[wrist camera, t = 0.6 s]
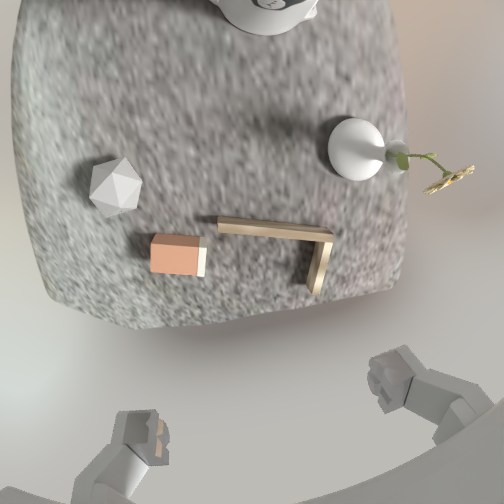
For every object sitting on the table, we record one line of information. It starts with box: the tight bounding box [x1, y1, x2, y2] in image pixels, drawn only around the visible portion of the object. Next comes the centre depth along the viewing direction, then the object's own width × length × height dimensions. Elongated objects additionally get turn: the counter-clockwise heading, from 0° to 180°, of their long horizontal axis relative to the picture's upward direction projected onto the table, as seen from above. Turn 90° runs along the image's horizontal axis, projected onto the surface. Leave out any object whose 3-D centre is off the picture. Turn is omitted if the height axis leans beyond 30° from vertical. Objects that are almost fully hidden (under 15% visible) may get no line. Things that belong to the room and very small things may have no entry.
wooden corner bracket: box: [217, 216, 335, 295], centre depth 51 cm, size 12×20×4 cm, turn 82°
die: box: [89, 157, 142, 218], centre depth 41 cm, size 8×9×10 cm
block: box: [151, 233, 207, 277], centre depth 48 cm, size 5×9×5 cm, turn 82°
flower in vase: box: [328, 118, 475, 195], centre depth 36 cm, size 13×11×25 cm
